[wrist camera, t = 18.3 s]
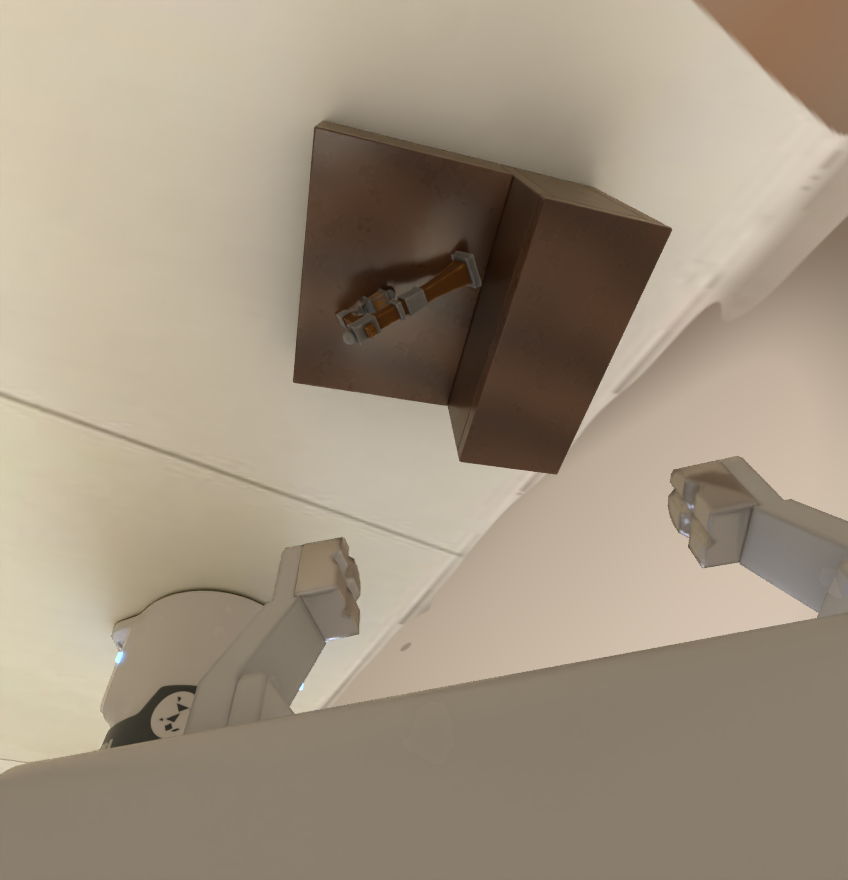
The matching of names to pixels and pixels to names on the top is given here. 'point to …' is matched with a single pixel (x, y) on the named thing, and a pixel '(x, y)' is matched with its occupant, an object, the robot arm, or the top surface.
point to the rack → (469, 289)
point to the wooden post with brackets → (406, 300)
